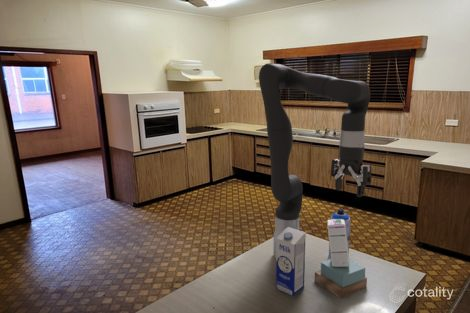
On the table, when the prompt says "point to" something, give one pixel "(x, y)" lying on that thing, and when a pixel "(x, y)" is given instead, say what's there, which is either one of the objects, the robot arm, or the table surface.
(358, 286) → the walnut slab
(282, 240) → the milk carton
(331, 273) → the teal block
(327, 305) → the table surface
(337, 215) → the aerosol can
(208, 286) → the table surface
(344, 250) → the syrup box
